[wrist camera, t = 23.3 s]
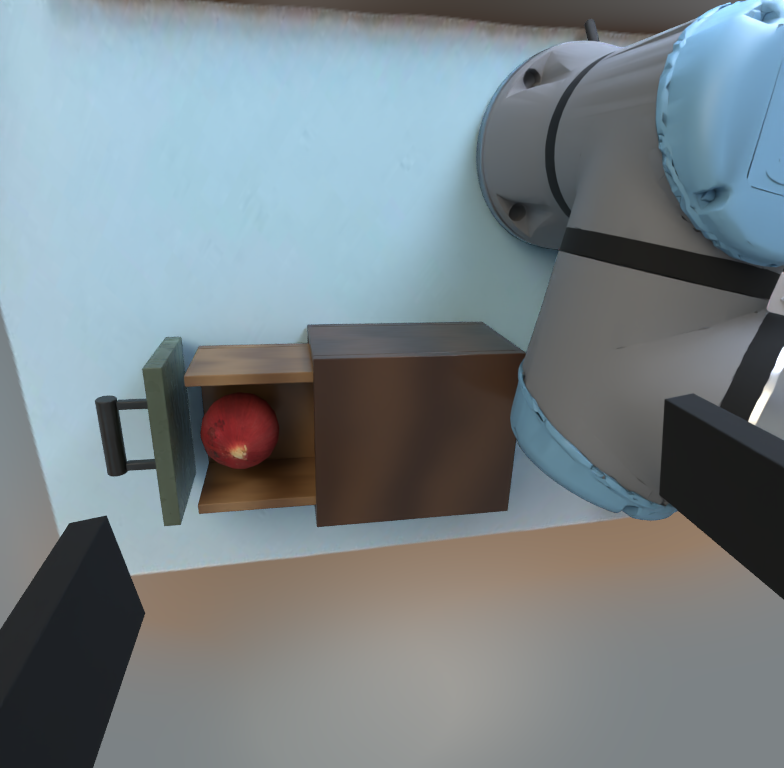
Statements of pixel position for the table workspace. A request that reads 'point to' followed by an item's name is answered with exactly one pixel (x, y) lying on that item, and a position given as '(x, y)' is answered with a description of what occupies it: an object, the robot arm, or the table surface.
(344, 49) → the table surface
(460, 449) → the cabinet
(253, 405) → the onion
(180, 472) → the drawer
